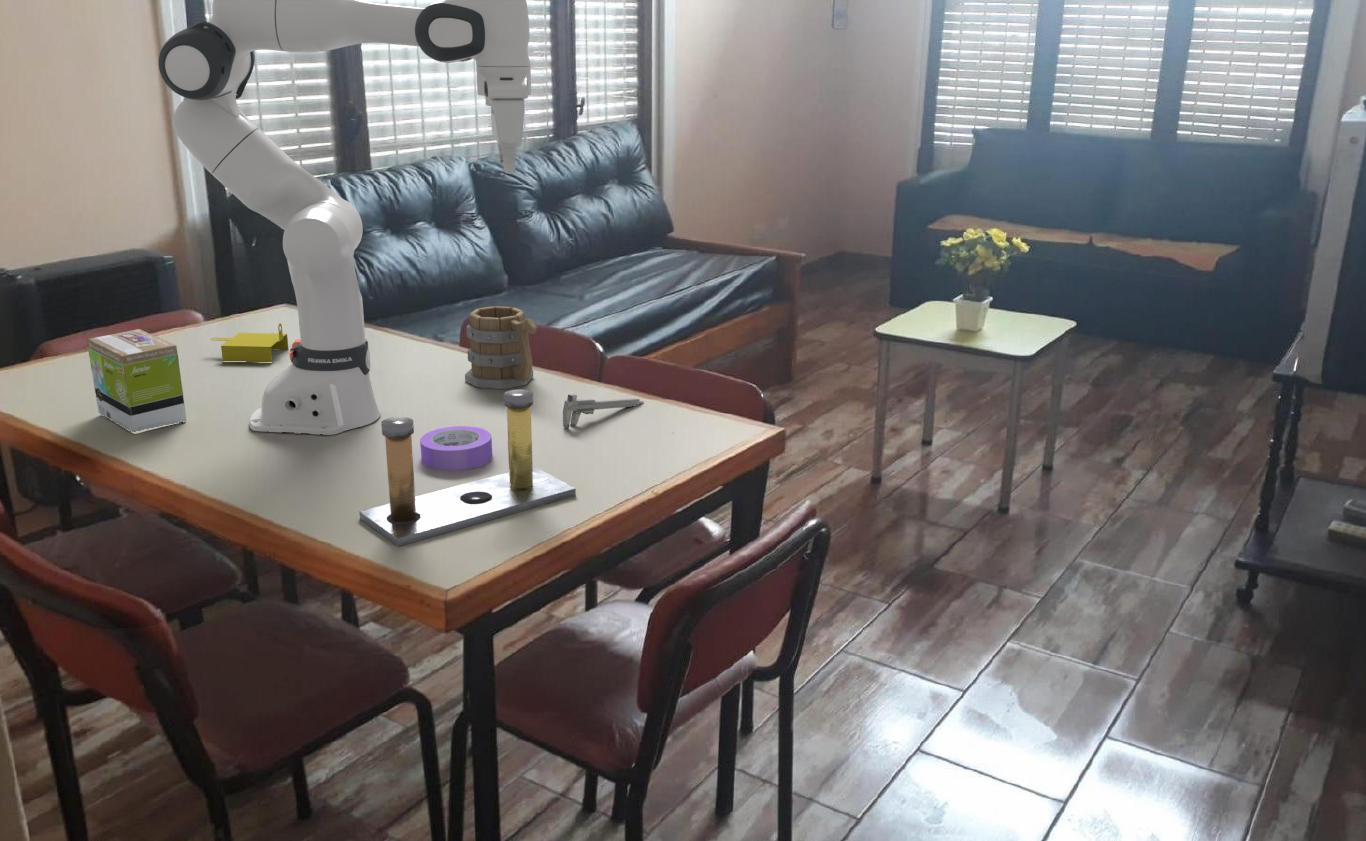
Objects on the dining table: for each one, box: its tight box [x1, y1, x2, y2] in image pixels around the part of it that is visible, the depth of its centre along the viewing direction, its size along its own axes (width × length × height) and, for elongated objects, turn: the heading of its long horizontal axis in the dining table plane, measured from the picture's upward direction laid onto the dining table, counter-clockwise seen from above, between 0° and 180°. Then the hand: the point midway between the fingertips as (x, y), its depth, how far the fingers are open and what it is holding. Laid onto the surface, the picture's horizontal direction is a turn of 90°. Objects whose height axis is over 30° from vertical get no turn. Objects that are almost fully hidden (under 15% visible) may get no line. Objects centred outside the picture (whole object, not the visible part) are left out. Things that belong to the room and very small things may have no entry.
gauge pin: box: [503, 389, 534, 488], centre depth 183 cm, size 4×4×15 cm
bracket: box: [210, 323, 290, 363], centre depth 254 cm, size 16×8×15 cm
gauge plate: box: [358, 465, 577, 547], centre depth 180 cm, size 30×12×1 cm, turn 130°
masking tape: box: [419, 425, 493, 472], centre depth 199 cm, size 12×12×4 cm
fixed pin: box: [380, 416, 416, 522], centre depth 171 cm, size 4×4×15 cm
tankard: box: [464, 305, 538, 390], centre depth 236 cm, size 20×13×15 cm, turn 37°
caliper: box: [562, 394, 645, 429], centre depth 221 cm, size 20×1×6 cm, turn 140°
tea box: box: [86, 328, 187, 432], centre depth 213 cm, size 15×10×15 cm, turn 47°
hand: (507, 169), depth 202 cm, fingers open, 8 cm apart
